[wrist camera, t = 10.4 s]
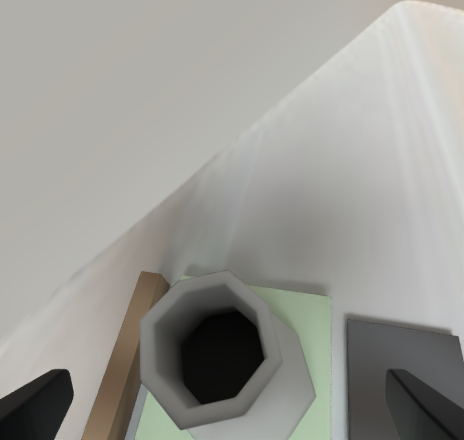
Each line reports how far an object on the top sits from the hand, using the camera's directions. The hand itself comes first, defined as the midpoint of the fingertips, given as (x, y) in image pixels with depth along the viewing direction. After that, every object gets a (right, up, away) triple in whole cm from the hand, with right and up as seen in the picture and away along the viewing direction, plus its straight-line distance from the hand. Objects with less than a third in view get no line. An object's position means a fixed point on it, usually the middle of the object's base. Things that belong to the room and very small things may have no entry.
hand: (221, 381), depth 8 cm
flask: (+1, -3, +7) cm, 8 cm away
